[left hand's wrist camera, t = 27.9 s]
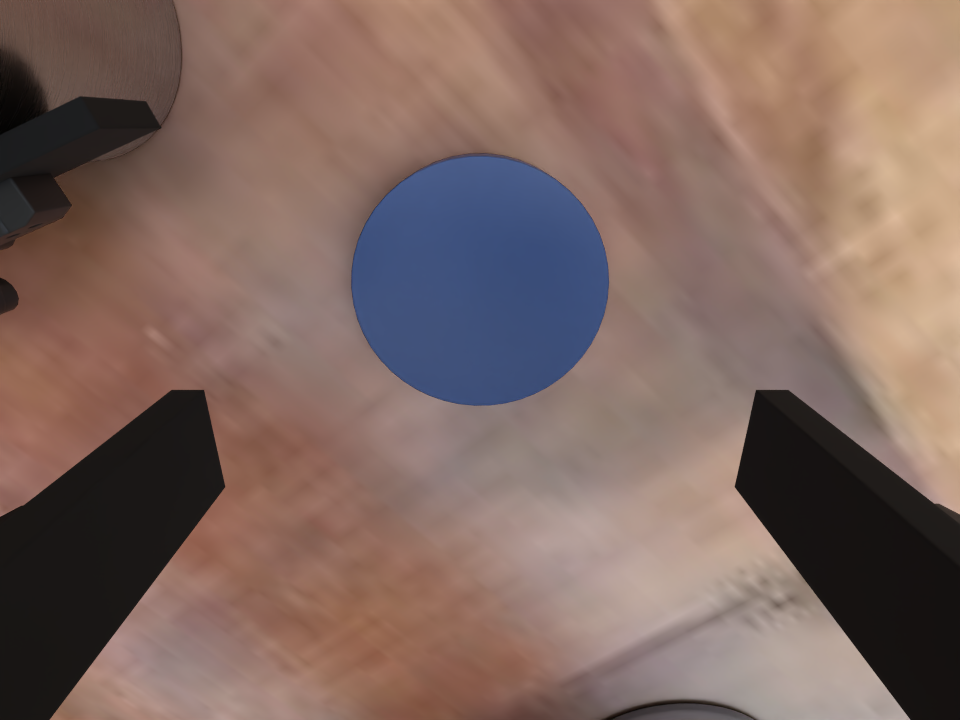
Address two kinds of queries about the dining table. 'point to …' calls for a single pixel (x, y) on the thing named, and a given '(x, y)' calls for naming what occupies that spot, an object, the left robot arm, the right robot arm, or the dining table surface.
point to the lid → (480, 280)
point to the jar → (87, 57)
